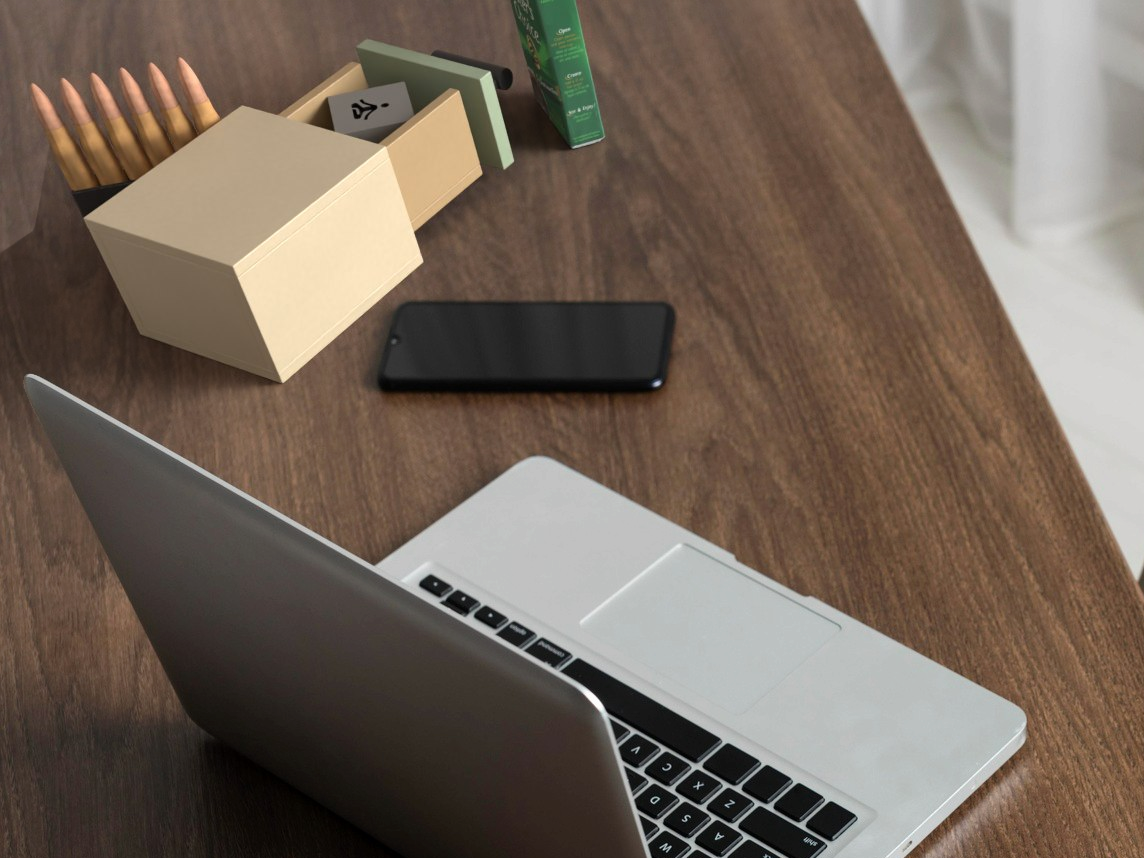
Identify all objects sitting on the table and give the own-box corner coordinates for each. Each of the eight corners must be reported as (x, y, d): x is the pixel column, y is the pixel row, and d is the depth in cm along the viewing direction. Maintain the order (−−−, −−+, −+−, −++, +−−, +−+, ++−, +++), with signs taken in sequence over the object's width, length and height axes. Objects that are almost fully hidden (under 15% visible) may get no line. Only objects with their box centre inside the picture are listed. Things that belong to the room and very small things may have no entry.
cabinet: (286, 219, 116) (241, 104, 110) (423, 262, 113) (386, 145, 106) (139, 334, 108) (82, 217, 102) (282, 384, 105) (232, 266, 98)
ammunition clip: (269, 215, 115) (195, 47, 107) (267, 230, 114) (193, 61, 105) (105, 246, 114) (17, 79, 105) (102, 261, 113) (13, 93, 104)
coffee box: (531, 99, 125) (487, -78, 116) (568, 88, 126) (528, -88, 116) (569, 151, 121) (527, -28, 111) (607, 140, 122) (569, -39, 112)
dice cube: (350, 163, 117) (327, 96, 113) (424, 147, 118) (404, 81, 114) (359, 202, 114) (335, 135, 110) (435, 186, 115) (414, 119, 111)
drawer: (432, 98, 124) (406, 9, 119) (550, 130, 121) (529, 40, 116) (274, 221, 114) (238, 130, 109) (398, 260, 111) (367, 168, 106)
